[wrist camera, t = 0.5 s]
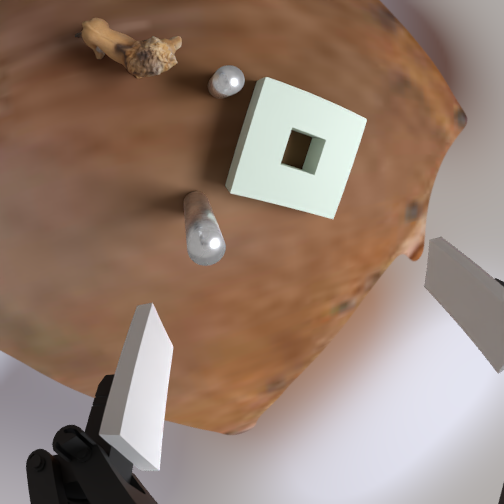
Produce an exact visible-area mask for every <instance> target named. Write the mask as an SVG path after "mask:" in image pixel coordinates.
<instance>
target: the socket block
mask: <svg viewBox="0 0 504 504" xmlns="http://www.w3.org/2000/svg"><path fill="white" fill-rule="evenodd" d="M366 121H367V119H365V118H363V117H361V116H359V115H357V114H355V113H353V112H351V111H349V110H347V109H345V108H343V107H341V106H338V105H336V104H334V103H332V102H330V101H327V100H325V99H323V98H320V97H318V96H316V95H313V94H311V93H308V92H306V91H303V90H301V89H298V88H296V87H293V86H290V85H288V84H285V83H282V82H280V81H277V80H274V79H271V78H268V77H264V78H262V79H260V80H258V81H257V82H256V85H255V88H254V91H253V94H252V98H251V101H250V104H249V107H248V110H247V113H246V117H245V120H244V123H243V126H242V130H241V133H240V136H239V139H238V143H237V146H236V149H235V153H234V156H233V160H232V163H231V167H230V170H229V173H228V177H227V180H226V184H225V186H226V188H227V189H228V191H229V192H230V193H231V194H236V195H240V196H244V197H249V198H253V199H257V200H261V201H265V202H269V203H273V204H277V205H281V206H285V207H289V208H293V209H297V210H301V211H305V212H308V213H312V214H316V215H320V216H323V217H327V218H331V219H334V216H335V213H336V210H337V208H338V205H339V202H340V199H341V197H342V194H343V191H344V188H345V185H346V182H347V180H348V177H349V174H350V171H351V168H352V165H353V162H354V159H355V156H356V153H357V150H358V147H359V144H360V140H361V137H362V134H363V131H364V128H365V125H366ZM291 130H294V131H296V132H299V133H302V134H305V135H308V136H310V137H312V140H311V143H310V146H309V149H308V152H307V156H306V159H305V162H304V165H303V168H302V169H299V168H296V167H293V166H290V165H286V164H283V163H281V161H282V158H283V155H284V152H285V149H286V145H287V142H288V139H289V136H290V133H291Z"/></svg>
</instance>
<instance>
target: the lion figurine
mask: <svg viewBox="0 0 504 504" xmlns="http://www.w3.org/2000/svg"><path fill="white" fill-rule="evenodd" d="M82 26H83V30H82V32H80V33H77V34H76V35H75V37H81V36H82V37H83V40H84V42H85V43H86V44H87V45H88V46H89V47H90V48H92V49H93V51H94V52H95V55H96V58H97V59H102V58H103V57H104V56H105V54H106V55H108V56H109V57H110V58H111V59H113V60H114V61H116V62H118V63H120V64H123V66H124V67H125V68H126V69H127V71H128V72H129V73H131V74H132V75H135V76H136V78H142V77H144V76H145V77H151V76H154V75H159V74H160V73H162V72H165V71H167V70H169V69H170V68H171V67H172V66H174V65H175V64H176V63H177V61H176V58H175V56H174V54H175V52H176V50H177V49H178V48H180V47H181V41H182V39H181V37H179V36H176V37H173V38H171V39H169V40H168V39H161V40H159V39H158V38H156V37H154V36H152V38H151V39H148V40H144V41H135V40H134V39H132V38H131V37H129V36H128V35H125V34H123V33H120V32H117V31H114V30H111V29H110V28H109V24H108V23H107V22H106V21H105V20H103V19H100V18H93V19H91V20H90V21H84V22H83V23H82Z"/></svg>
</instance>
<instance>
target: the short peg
mask: <svg viewBox="0 0 504 504" xmlns="http://www.w3.org/2000/svg"><path fill="white" fill-rule="evenodd" d="M244 82H245V78H244V75H243V73H242V71H241V70H240V69H238V68H237V67H235V66H223V67H221V68H219V69H218V70H217V71H216V72H215V74H214V75H213V76H212V77H211V79H210V80H209V82H208V91H209V93H210V94H211V95H212V96H213V97H215V98H219V99H223V98H226V97H228V96H231V95H233V94H235V93H237V92H239V91H240V90H241V89H242V87H243V85H244Z"/></svg>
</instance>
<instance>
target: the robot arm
mask: <svg viewBox="0 0 504 504" xmlns="http://www.w3.org/2000/svg"><path fill="white" fill-rule="evenodd" d="M424 287H425V288H426V289H427V290H428V291H429V292H430V293H431V294H432V296H433V297H434V298H435V299H436V300H437V301H438V302H439V303H440V304H441V305H442V307H443V308H444V309H445V310H446V311H447V312H448V313H449V314H450V316H451V317H452V318H453V319H454V320H455V321H456V322H457V323H458V325H459V326H460V327H461V328H462V329H463V330H464V332H465V333H466V334H467V335H468V336H469V338H470V339H471V340H472V341H473V342H474V344H475V345H476V346H477V347H478V349H479V350H480V351H481V352H482V354H483V355H484V356H485V357H486V359H487V360H488V361H489V362H490V364H491V365H492V366H493V368H494V369H495V370H496V371H497V373H500V372H501V371H503V370H504V282H503V281H501V280H499V279H496V278H495V279H494V278H493V277H492V276H490V275H489V274H488V273H487V272H485V271H484V270H483V269H482V268H481V267H480V266H478V265H477V264H476V263H475V262H473V261H472V260H471V259H470V258H468V257H467V256H466V255H464V254H463V253H462V252H461V251H459V250H458V249H457V248H455V247H454V246H453V245H452V244H450V243H449V242H447V241H446V240H445V239H443V238H442V237H439V238H435V239H432V240H430V242H429V253H428V263H427V272H426V279H425V286H424ZM172 354H173V345H172V343H171V341H170V339H169V337H168V335H167V333H166V331H165V329H164V327H163V325H162V322H161V320H160V318H159V316H158V314H157V312H156V309H155V307H154V305H153V303H149V304H144V305H138V306H137V308H136V311H135V314H134V316H133V319H132V322H131V325H130V328H129V331H128V334H127V337H126V340H125V343H124V346H123V349H122V352H121V356H120V359H119V362H118V365H117V369H116V372H115V374H114V375H106V376H105V377H104V378H103V380H102V381H101V382H100V384H99V385H98V389H97V392H96V395H95V396H96V398H94V402H93V406H92V409H91V412H90V415H89V419H88V423H87V426H86V429H85V432H84V431H83V430H81V428H79V427H77V426H75V425H67V426H65V427H63V428H61V429H60V430H59V431H58V432H57V433H56V435H55V437H54V439H53V444H52V445H53V450H54V451H55V452H56V453H57V454H58V455H53V456H52V455H51V454H50V453H49V452H47V451H46V450H43V449H37V450H35V451H33V452H32V453H31V454H30V455H29V457H28V459H27V463H26V471H27V479H28V488H29V495H30V502H31V504H157V502H156V501H155V500H154V498H153V497H152V496H151V495H150V494H149V492H148V491H147V490H146V489H145V487H144V486H143V485H142V483H141V482H140V481H139V480H138V478H137V477H136V476H135V475H134V474H133V473H132V468H133V465H135V466H136V467H137V468H138V469H140V470H146V471H159V470H160V458H161V447H162V436H163V426H164V416H165V407H166V399H167V391H168V383H169V375H170V368H171V361H172ZM498 504H504V484H503V488H502V492H501V496H500V499H499V503H498Z"/></svg>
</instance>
